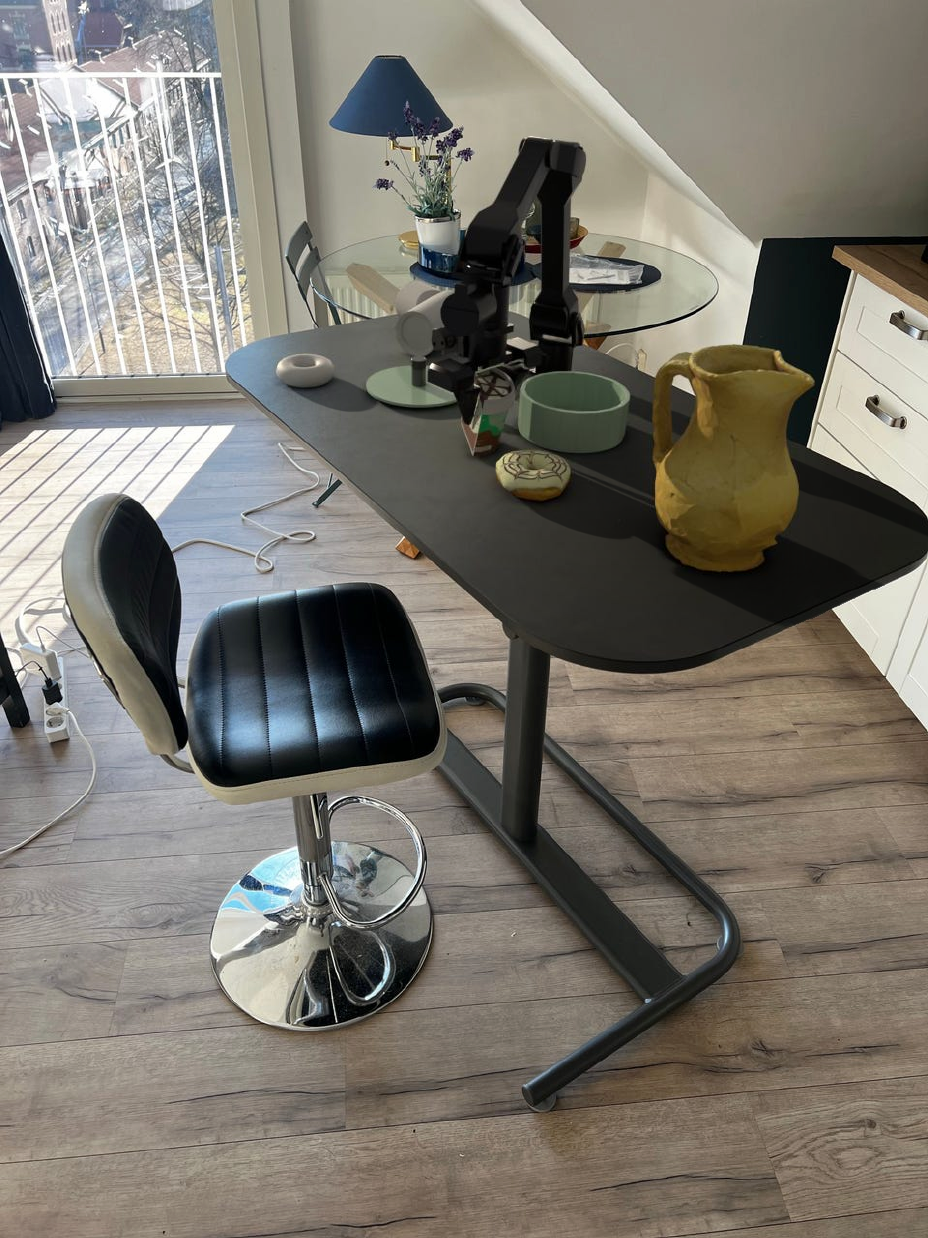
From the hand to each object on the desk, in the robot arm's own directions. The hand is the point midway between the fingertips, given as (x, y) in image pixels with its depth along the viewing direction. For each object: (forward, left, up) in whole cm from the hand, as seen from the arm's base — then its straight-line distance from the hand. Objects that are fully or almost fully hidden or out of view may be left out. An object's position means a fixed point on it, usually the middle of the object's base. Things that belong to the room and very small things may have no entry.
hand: (483, 418), depth 140 cm
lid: (-6, -22, -3) cm, 23 cm away
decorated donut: (+5, +15, -4) cm, 16 cm away
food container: (0, +1, -4) cm, 4 cm away
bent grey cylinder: (-24, -40, -4) cm, 47 cm away
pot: (-14, +6, -4) cm, 16 cm away
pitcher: (-1, +41, -4) cm, 41 cm away
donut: (+6, -38, -4) cm, 39 cm away
